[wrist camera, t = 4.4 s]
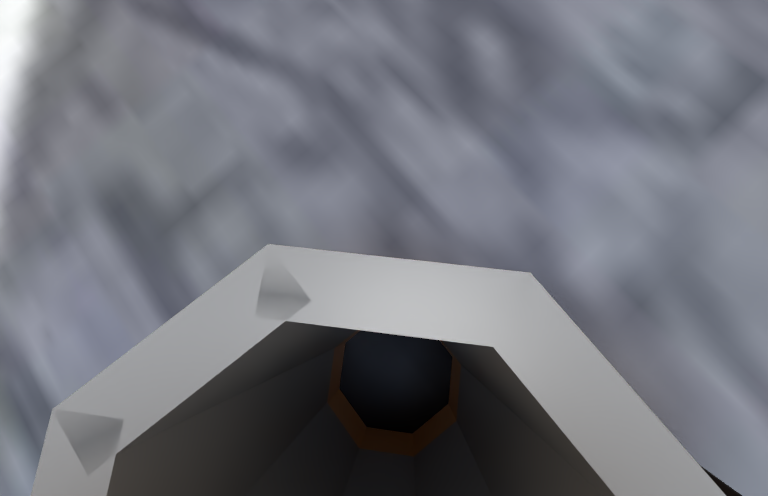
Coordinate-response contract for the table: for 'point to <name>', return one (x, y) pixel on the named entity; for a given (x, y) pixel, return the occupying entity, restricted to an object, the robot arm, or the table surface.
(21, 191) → the table surface
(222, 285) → the sleeve
